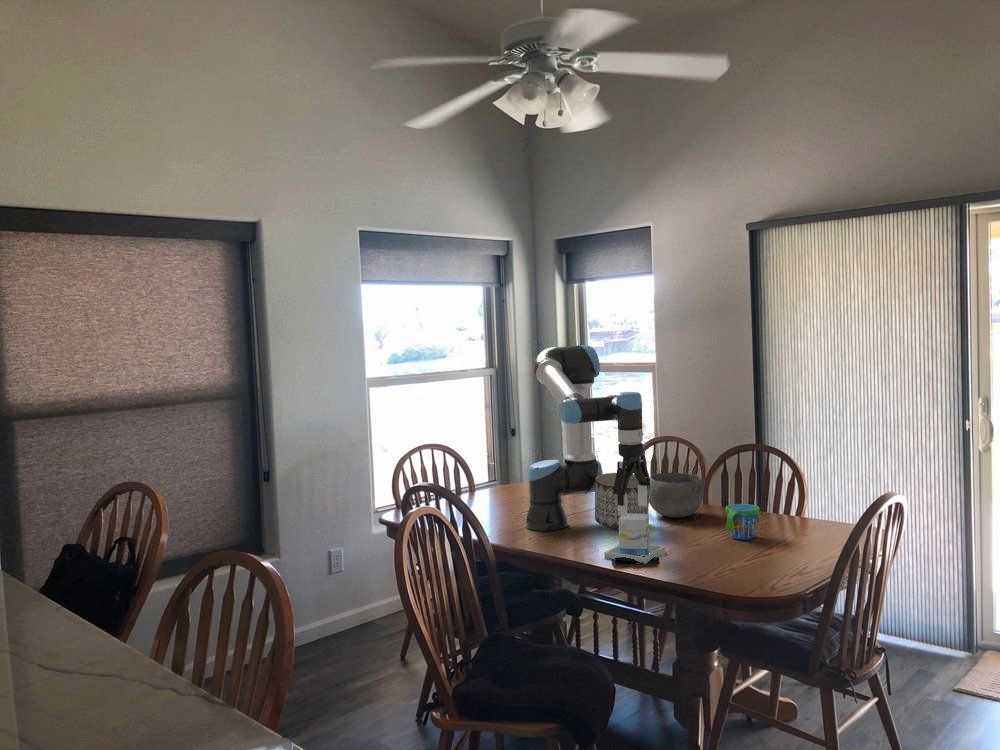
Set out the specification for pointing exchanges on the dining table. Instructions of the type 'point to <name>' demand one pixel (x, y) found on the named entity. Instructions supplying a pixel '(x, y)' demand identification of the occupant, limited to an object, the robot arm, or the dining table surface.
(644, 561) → the tray
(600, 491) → the planter
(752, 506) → the snack cup
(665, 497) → the bowl
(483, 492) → the dining table surface
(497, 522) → the dining table surface
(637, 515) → the ink box
